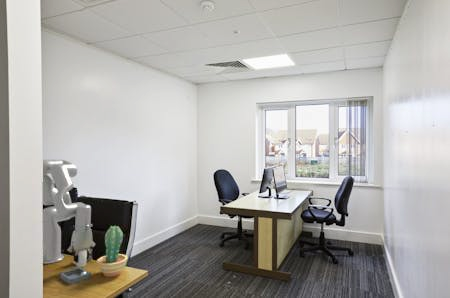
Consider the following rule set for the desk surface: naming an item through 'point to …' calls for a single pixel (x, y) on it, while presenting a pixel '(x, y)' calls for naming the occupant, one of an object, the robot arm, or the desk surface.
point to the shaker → (82, 257)
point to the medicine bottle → (89, 257)
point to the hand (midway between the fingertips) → (81, 260)
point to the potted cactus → (112, 253)
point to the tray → (74, 275)
